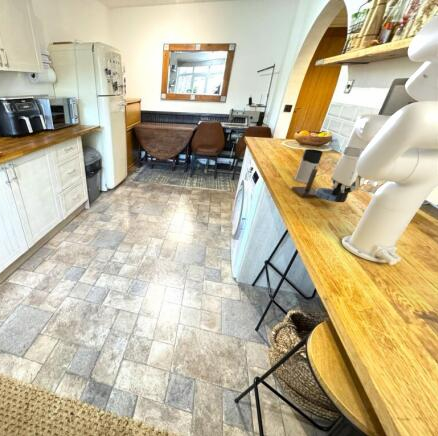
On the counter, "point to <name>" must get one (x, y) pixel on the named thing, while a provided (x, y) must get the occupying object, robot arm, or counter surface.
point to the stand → (307, 187)
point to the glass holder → (309, 164)
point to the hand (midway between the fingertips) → (336, 200)
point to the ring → (326, 194)
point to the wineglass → (372, 185)
